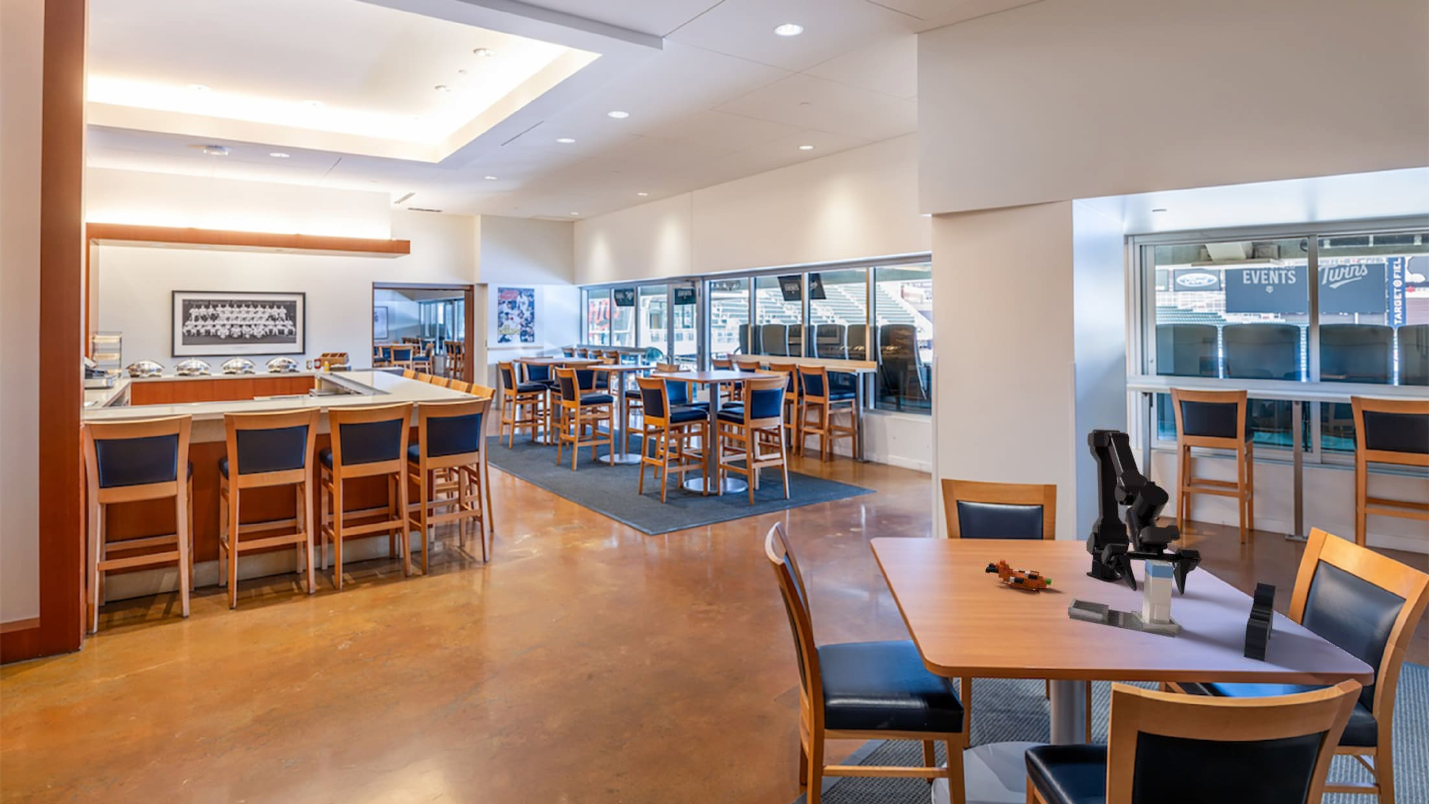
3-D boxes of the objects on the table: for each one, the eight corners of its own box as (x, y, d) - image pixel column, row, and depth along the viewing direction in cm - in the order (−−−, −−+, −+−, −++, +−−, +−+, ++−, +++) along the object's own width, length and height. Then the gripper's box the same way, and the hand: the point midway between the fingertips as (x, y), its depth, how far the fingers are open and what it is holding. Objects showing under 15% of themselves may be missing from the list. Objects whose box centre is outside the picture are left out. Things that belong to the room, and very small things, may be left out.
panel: (1172, 622, 162) (1172, 619, 162) (1174, 640, 153) (1175, 636, 153) (1073, 605, 172) (1073, 601, 172) (1069, 620, 163) (1069, 616, 163)
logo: (1253, 625, 162) (1257, 581, 161) (1272, 629, 160) (1275, 584, 159) (1243, 660, 144) (1247, 611, 143) (1264, 665, 142) (1268, 615, 141)
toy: (991, 554, 192) (1053, 564, 184) (990, 576, 192) (1052, 587, 185) (985, 562, 185) (1049, 572, 177) (984, 585, 186) (1048, 596, 178)
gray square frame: (1130, 619, 164) (1131, 610, 163) (1166, 622, 162) (1167, 613, 162) (1142, 632, 156) (1143, 623, 156) (1180, 636, 155) (1181, 626, 155)
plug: (1141, 621, 162) (1145, 559, 160) (1161, 622, 161) (1166, 560, 159) (1150, 630, 156) (1154, 566, 155) (1171, 632, 156) (1175, 568, 154)
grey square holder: (1072, 607, 171) (1073, 598, 171) (1108, 614, 167) (1108, 605, 167) (1067, 617, 165) (1068, 607, 164) (1104, 624, 161) (1105, 615, 160)
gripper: (1108, 508, 163) (1122, 571, 154) (1201, 513, 160) (1221, 578, 150) (1095, 533, 172) (1108, 595, 162) (1183, 539, 168) (1201, 602, 158)
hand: (1158, 592), depth 158 cm, fingers open, 9 cm apart
